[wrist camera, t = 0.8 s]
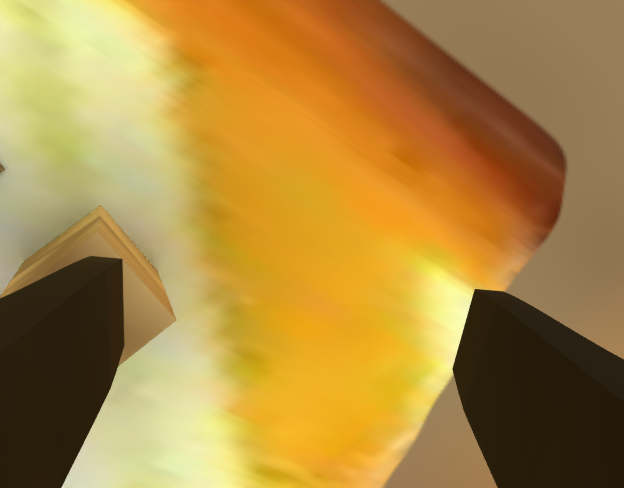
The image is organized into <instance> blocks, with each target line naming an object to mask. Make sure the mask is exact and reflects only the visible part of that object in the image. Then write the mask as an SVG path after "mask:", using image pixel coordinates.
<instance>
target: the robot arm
mask: <svg viewBox="0 0 624 488" xmlns="http://www.w3.org/2000/svg"><path fill="white" fill-rule="evenodd" d="M124 346H125V344H124V301H123V259H121V258H109V257H98V256H89V257H86V258H83V259H81V260H79V261H76V262H74V263H72V264H70V265H68V266H66V267H64V268H62V269H60V270H58V271H56V272H54V273H52V274H50V275H48V276H46V277H44V278H42V279H40V280H38V281H35V282H33V283H31V284H29V285H27V286H25V287H23V288H21V289H19V290H17V291H15V292H13V293H11V294H9V295H6V296H4V297H2V298H0V488H61V487H62V485H63V483H64V481H65V479H66V477H67V475H68V473H69V471H70V469H71V467H72V465H73V463H74V461H75V459H76V457H77V455H78V453H79V451H80V449H81V447H82V445H83V443H84V441H85V439H86V437H87V435H88V433H89V431H90V429H91V427H92V425H93V423H94V421H95V419H96V417H97V415H98V413H99V411H100V409H101V407H102V405H103V403H104V401H105V399H106V397H107V394H108V392H109V390H110V388H111V385H112V382H113V380H114V377H115V374H116V371H117V368H118V365H119V362H120V358H121V355H122V352H123V349H124ZM453 373H454V377H455V381H456V385H457V389H458V393H459V396H460V399H461V402H462V405H463V409H464V412H465V414H466V417H467V419H468V422H469V424H470V426H471V428H472V431H473V433H474V436H475V438H476V440H477V442H478V445H479V447H480V449H481V451H482V453H483V456H484V458H485V460H486V463H487V465H488V467H489V469H490V471H491V474H492V476H493V478H494V480H495V482H496V485H497V487H498V488H624V359H622V358H620V357H618V356H616V355H614V354H613V353H611V352H609V351H607V350H605V349H604V348H602V347H600V346H598V345H597V344H595V343H593V342H592V341H590V340H588V339H587V338H585V337H583V336H581V335H580V334H578V333H576V332H574V331H573V330H571V329H570V328H568V327H566V326H564V325H563V324H561V323H560V322H558V321H556V320H555V319H553V318H551V317H550V316H548V315H546V314H545V313H543V312H541V311H540V310H538V309H536V308H534V307H533V306H531V305H529V304H527V303H526V302H524V301H522V300H520V299H518V298H516V297H514V296H512V295H510V294H508V293H505V292H503V291H492V290H480V289H475V290H474V294H473V298H472V301H471V305H470V308H469V312H468V315H467V319H466V322H465V326H464V330H463V333H462V337H461V340H460V344H459V347H458V351H457V355H456V358H455V362H454V365H453Z"/></svg>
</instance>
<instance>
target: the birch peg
mask: <svg viewBox="0 0 624 488" xmlns="http://www.w3.org/2000/svg"><path fill="white" fill-rule="evenodd" d="M89 256H98V257H109V258H121V259H123V301H124V344H125V346H124V349H123V352H122V355H121V358H120V362H119V365H120V364H121V363H123V362H124V361H125V360H126V359H128V358H129V357H130V356H132V355H133V354H134V353H135V352H137V351H138V350H139V349H140V348H142V347H143V346H144V345H145V344H147V343H148V342H149V341H150V340H152V339H153V338H154V337H155V336H157V335H158V334H159V333H161V332H162V331H163V330H164V329H166V328H167V327H168V326H169V325H171V324H172V323H173V322H174V321H176V318H175V316H174V313H173V310H172V308H171V305H170V302H169V300H168V297H167V294H166V292H165V289H164V287H163V284H162V281H161V279H160V276H159V273H158V271H157V270H156V269H155V268H154V267H153V266H152V264H151V263H150V262H149V261H148V260H147V259H146V257H145V256H144V255H143V254H142V253H141V252H140V250H139V249H138V248H137V247H136V246H135V245H134V243H133V242H132V241H131V240H130V239H129V238H128V236H127V235H126V234H125V233H124V232H123V231H122V229H121V228H120V227H119V226H118V225H117V224H116V222H115V221H114V220H113V219H112V218H111V217H110V216H109V214H108V213H107V212H106V211H105V210H104V209H103V207H102V206H100V207H98V208H97V209H95V210H94V211H93V212H91V213H90V214H89V215H87V216H86V217H84V218H83V219H82V220H80V221H79V222H77V223H76V224H75V225H73V226H72V227H71V228H69V229H68V230H66V231H65V232H64V233H62V234H61V235H60V236H58V237H57V238H55V239H54V240H53V241H51V242H50V243H49V244H47V245H46V246H44V247H43V248H42V249H40V250H39V251H37V252H36V253H35V254H33V255H32V256H31V257H29V258H28V259H26V260H25V261H24V262H23V264H22V265H21V267H20V268H19V270H18V271H17V273H16V274H15V276H14V277H13V278H12V280H11V281H10V283H9V284H8V286H7V287H6V289H5V290H4V292H3V293H2V295H1V296H0V298H2V297H4V296H6V295H9V294H11V293H13V292H15V291H17V290H19V289H21V288H23V287H25V286H27V285H29V284H31V283H33V282H35V281H38V280H40V279H42V278H44V277H46V276H48V275H50V274H52V273H54V272H56V271H58V270H60V269H62V268H64V267H66V266H68V265H70V264H72V263H74V262H76V261H79V260H81V259H83V258H86V257H89ZM119 365H118V366H119Z"/></svg>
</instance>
